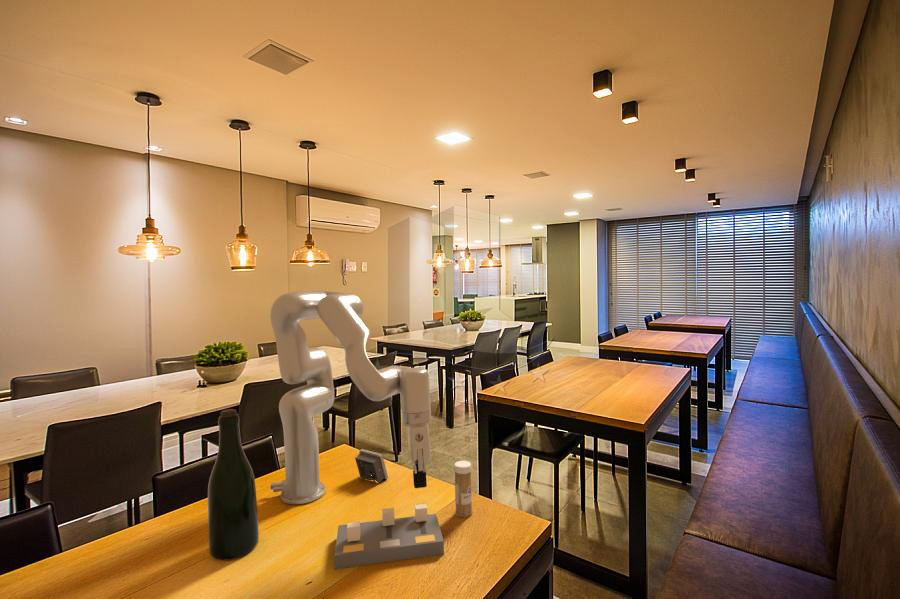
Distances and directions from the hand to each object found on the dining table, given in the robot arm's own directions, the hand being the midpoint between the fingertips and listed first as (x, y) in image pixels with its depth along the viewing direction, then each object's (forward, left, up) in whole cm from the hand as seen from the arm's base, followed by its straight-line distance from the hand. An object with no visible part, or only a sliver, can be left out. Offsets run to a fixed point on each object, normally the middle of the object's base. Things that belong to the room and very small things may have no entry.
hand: (420, 486), depth 112 cm
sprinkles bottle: (+11, 0, -9) cm, 15 cm away
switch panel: (-9, -10, -9) cm, 16 cm away
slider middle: (-9, -6, -5) cm, 12 cm away
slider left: (-17, -11, -5) cm, 20 cm away
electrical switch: (-13, +26, -9) cm, 31 cm away
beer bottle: (-45, -3, -9) cm, 45 cm away
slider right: (-1, -6, -5) cm, 8 cm away
